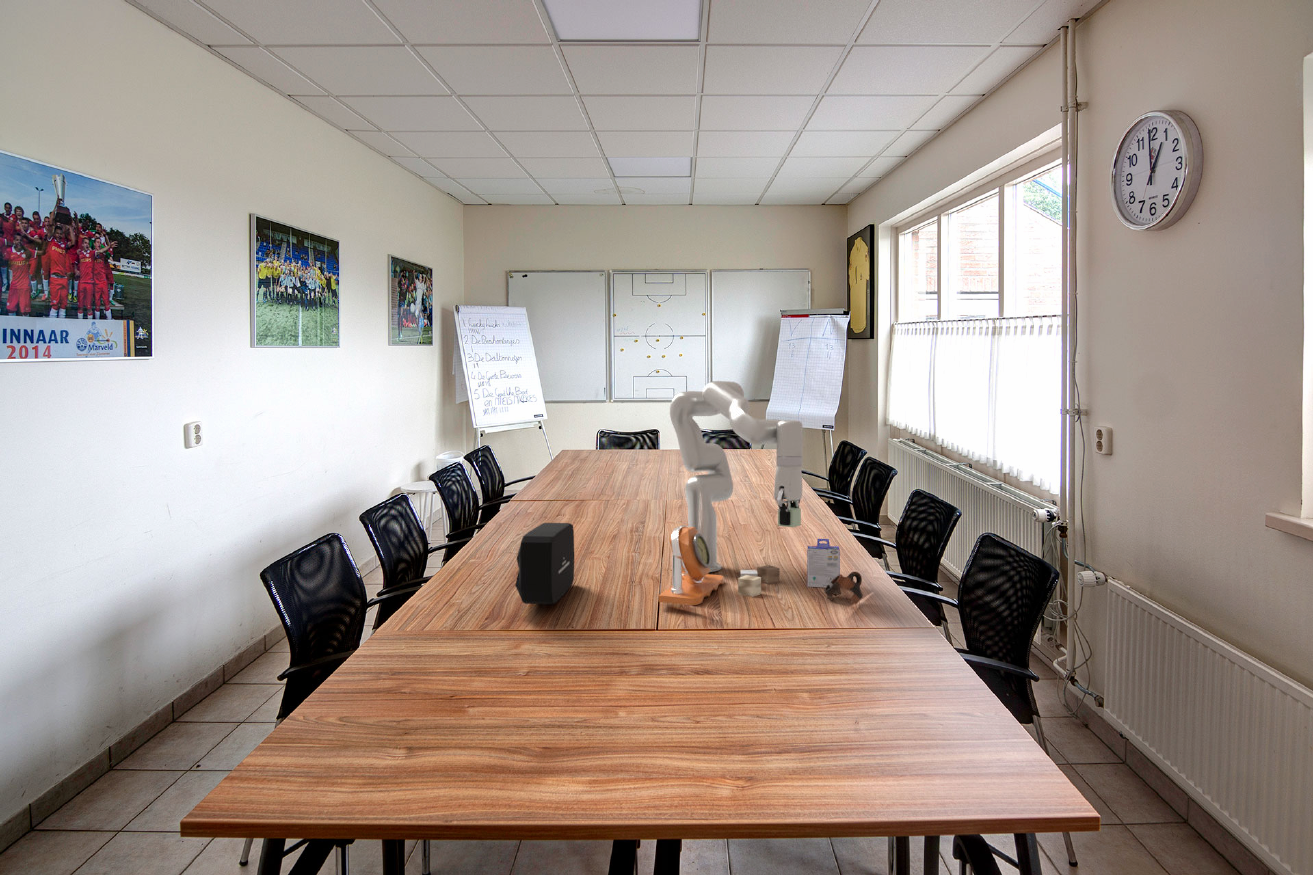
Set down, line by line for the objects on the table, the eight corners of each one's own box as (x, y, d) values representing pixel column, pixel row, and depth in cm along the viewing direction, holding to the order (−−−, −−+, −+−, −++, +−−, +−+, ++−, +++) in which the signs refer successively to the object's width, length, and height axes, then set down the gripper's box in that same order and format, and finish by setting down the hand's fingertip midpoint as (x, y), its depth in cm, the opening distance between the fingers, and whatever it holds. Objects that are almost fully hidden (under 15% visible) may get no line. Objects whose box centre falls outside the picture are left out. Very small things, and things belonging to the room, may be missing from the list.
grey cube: (741, 589, 216) (741, 573, 216) (740, 585, 221) (740, 569, 221) (757, 589, 216) (757, 573, 215) (756, 585, 221) (756, 570, 220)
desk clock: (656, 603, 201) (656, 533, 200) (689, 580, 229) (689, 518, 228) (698, 607, 196) (698, 535, 196) (726, 583, 224) (726, 520, 224)
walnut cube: (756, 582, 225) (757, 566, 225) (768, 580, 228) (768, 564, 228) (767, 585, 221) (767, 569, 221) (779, 583, 224) (779, 567, 224)
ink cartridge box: (839, 584, 222) (839, 538, 221) (840, 588, 216) (840, 541, 216) (807, 583, 224) (807, 537, 223) (807, 587, 218) (807, 540, 218)
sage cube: (777, 525, 208) (777, 508, 208) (785, 523, 212) (785, 507, 212) (793, 527, 205) (793, 510, 205) (800, 525, 209) (800, 508, 209)
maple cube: (738, 594, 210) (738, 578, 210) (746, 591, 214) (746, 575, 214) (753, 597, 207) (753, 580, 207) (761, 593, 211) (761, 577, 211)
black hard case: (552, 609, 195) (551, 537, 194) (508, 608, 196) (507, 536, 196) (575, 582, 225) (574, 520, 224) (537, 582, 226) (536, 520, 226)
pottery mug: (851, 612, 196) (830, 590, 197) (837, 616, 205) (816, 596, 206) (876, 581, 201) (854, 561, 202) (861, 587, 209) (840, 567, 211)
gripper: (790, 460, 217) (790, 519, 218) (764, 463, 203) (764, 526, 204) (813, 461, 213) (812, 521, 213) (788, 464, 199) (788, 528, 199)
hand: (789, 523), depth 209 cm, fingers closed on sage cube, 5 cm apart
